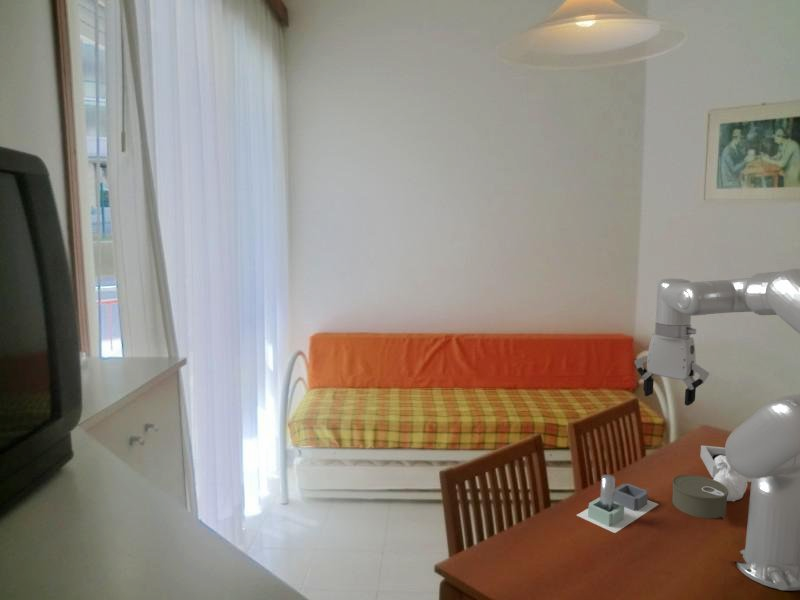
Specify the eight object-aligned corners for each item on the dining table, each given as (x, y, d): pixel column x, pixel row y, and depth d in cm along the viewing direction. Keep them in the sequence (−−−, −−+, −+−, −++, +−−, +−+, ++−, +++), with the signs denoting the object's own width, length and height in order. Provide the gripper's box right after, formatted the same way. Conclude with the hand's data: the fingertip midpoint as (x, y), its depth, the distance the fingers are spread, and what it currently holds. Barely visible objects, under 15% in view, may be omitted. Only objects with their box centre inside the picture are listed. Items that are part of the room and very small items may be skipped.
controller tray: (772, 484, 152) (773, 472, 152) (712, 477, 156) (713, 465, 156) (755, 461, 166) (756, 450, 166) (700, 456, 170) (701, 445, 170)
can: (686, 495, 147) (688, 470, 146) (735, 514, 137) (737, 488, 136) (661, 509, 140) (662, 483, 139) (710, 530, 131) (712, 503, 130)
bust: (739, 497, 150) (716, 456, 155) (764, 490, 144) (739, 447, 149) (712, 509, 144) (689, 465, 149) (737, 502, 138) (712, 457, 143)
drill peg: (613, 521, 132) (615, 481, 130) (599, 519, 133) (601, 479, 131) (612, 515, 135) (614, 475, 133) (598, 513, 135) (601, 473, 134)
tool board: (614, 539, 127) (615, 520, 127) (576, 520, 135) (576, 503, 134) (658, 509, 140) (659, 492, 139) (620, 494, 147) (621, 478, 147)
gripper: (717, 333, 131) (712, 404, 134) (644, 323, 144) (640, 388, 147) (704, 338, 127) (699, 411, 129) (629, 327, 139) (626, 394, 142)
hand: (668, 399), depth 138 cm, fingers open, 9 cm apart
